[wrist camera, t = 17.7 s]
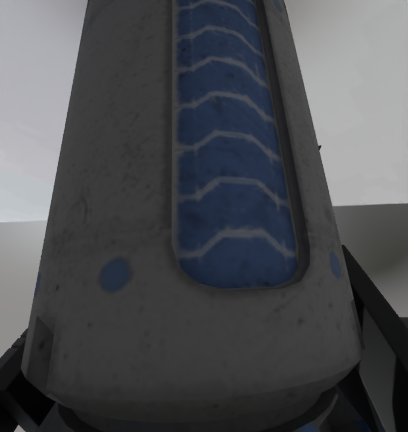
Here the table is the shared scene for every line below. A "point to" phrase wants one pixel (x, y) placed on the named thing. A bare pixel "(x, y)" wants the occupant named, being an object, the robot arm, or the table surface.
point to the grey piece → (193, 235)
